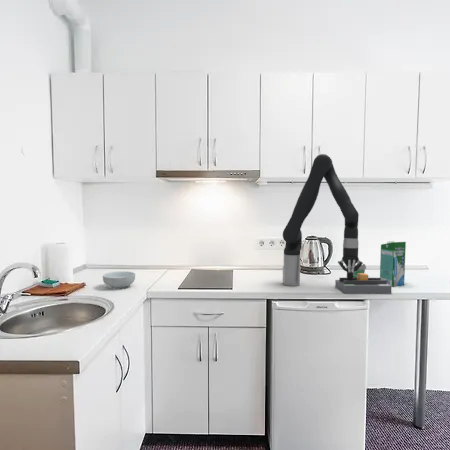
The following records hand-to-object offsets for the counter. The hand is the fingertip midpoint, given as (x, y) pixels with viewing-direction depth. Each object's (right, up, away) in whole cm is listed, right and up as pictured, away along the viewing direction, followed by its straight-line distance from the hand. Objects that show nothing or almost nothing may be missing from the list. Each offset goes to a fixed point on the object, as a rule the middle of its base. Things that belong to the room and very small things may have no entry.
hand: (349, 279), depth 175 cm
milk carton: (+30, -6, +15) cm, 34 cm away
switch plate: (+7, -6, 0) cm, 9 cm away
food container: (+13, -5, +21) cm, 25 cm away
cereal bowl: (-124, -6, +6) cm, 125 cm away
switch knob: (+7, -2, 0) cm, 7 cm away
